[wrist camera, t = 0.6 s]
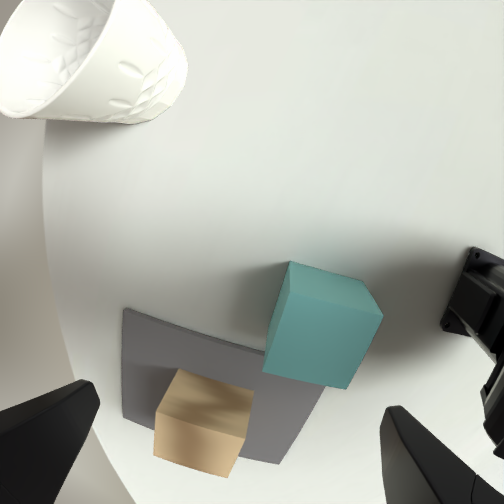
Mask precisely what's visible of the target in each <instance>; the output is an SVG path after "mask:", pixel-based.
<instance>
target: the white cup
mask: <svg viewBox="0 0 504 504" xmlns="http://www.w3.org/2000/svg"><path fill="white" fill-rule="evenodd" d="M187 70H188V63H187V59H186V56H185V53H184V50H183V47H182V46H181V45H180V43H179V42H178V41H177V40H176V39H175V37H174V36H173V34H172V32H171V31H170V29H169V27H168V26H167V24H166V23H165V22H164V21H163V20H162V18H161V17H160V15H159V14H158V12H157V11H156V10H155V9H154V7H153V6H152V5H151V4H150V3H149V1H148V0H22V2H21V3H20V4H19V5H18V7H17V8H16V10H15V11H14V13H13V14H12V16H11V17H10V19H9V20H8V22H7V24H6V26H5V28H4V30H3V32H2V34H1V36H0V112H1V113H2V114H4V115H5V116H7V117H10V118H15V119H16V118H17V119H55V120H71V121H84V122H88V121H91V122H103V123H105V122H118V123H125V124H136V123H140V122H145V121H149V120H153V119H154V118H156V117H157V116H158V115H160V114H161V113H162V112H164V111H165V110H167V109H168V108H170V107H171V106H172V104H173V103H174V101H175V100H176V98H177V97H178V95H179V94H180V92H181V91H182V89H183V88H184V85H185V80H186V75H187Z"/></svg>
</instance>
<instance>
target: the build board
mask: <svg viewBox="0 0 504 504" xmlns="http://www.w3.org/2000/svg"><path fill="white" fill-rule="evenodd" d="M264 355H265V352H262V351H259V350H255V349H251V348H248V347H244V346H240V345H237V344H233V343H230V342H227V341H223V340H220V339H217V338H213V337H210V336H207V335H204V334H200V333H197V332H194V331H191V330H188V329H185V328H182V327H179V326H176V325H173V324H170V323H167V322H164V321H162V320H159V319H156V318H153V317H150V316H148V315H145V314H142V313H139V312H137V311H134V310H131V309H129V308H125V309H124V310H123V329H122V406H123V417H124V418H126V419H128V420H130V421H133V422H135V423H138V424H140V425H142V426H145V427H147V428H150V429H152V430H155V417H156V410H157V408H158V406H159V405H160V403H161V401H162V399H163V397H164V395H165V393H166V391H167V390H168V388H169V386H170V384H171V382H172V380H173V378H174V377H175V375H176V373H177V371H178V369H182V370H185V371H188V372H191V373H194V374H197V375H201V376H204V377H207V378H210V379H213V380H217V381H220V382H224V383H227V384H231V385H234V386H238V387H241V388H245V389H249V390H253V391H254V395H253V400H252V406H251V412H250V417H249V423H248V428H247V433H246V439H245V441H244V443H243V446H242V448H241V450H240V452H239V454H238V456H239V457H244V458H248V459H253V460H258V461H263V462H268V463H273V464H280V462H281V461H282V459H283V458H284V456H285V454H286V453H287V451H288V450H289V448H290V447H291V445H292V443H293V442H294V440H295V439H296V437H297V435H298V434H299V432H300V430H301V429H302V427H303V425H304V424H305V422H306V420H307V419H308V417H309V415H310V413H311V412H312V410H313V408H314V406H315V405H316V403H317V401H318V399H319V397H320V396H321V394H322V392H323V390H324V388H325V386H324V385H319V384H314V383H309V382H304V381H300V380H295V379H291V378H286V377H282V376H278V375H274V374H270V373H266V372H262V369H263V362H264Z"/></svg>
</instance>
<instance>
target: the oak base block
mask: <svg viewBox="0 0 504 504" xmlns="http://www.w3.org/2000/svg"><path fill="white" fill-rule="evenodd" d="M253 395H254V391H253V390H249V389H245V388H241V387H238V386H234V385H231V384H227V383H224V382H220V381H217V380H213V379H210V378H207V377H204V376H201V375H197V374H194V373H191V372H188V371H185V370H182V369H178V371H177V373H176V375H175V377H174V378H173V380H172V382H171V384H170V386H169V388H168V390H167V391H166V393H165V395H164V397H163V399H162V401H161V403H160V405H159V406H158V408H157V410H156V417H155V432H154V452H153V455H154V456H157V457H159V458H162V459H165V460H168V461H171V462H173V463H176V464H179V465H182V466H186V467H189V468H192V469H195V470H199V471H202V472H206V473H209V474H213V475H217V476H221V477H225V478H228V476H229V474H230V472H231V469H232V467H233V465H234V463H235V461H236V459H237V457H238V454H239V452H240V450H241V448H242V446H243V443H244V441H245V439H246V433H247V428H248V423H249V417H250V412H251V406H252V400H253Z"/></svg>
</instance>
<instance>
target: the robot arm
mask: <svg viewBox="0 0 504 504" xmlns="http://www.w3.org/2000/svg"><path fill="white" fill-rule="evenodd" d="M476 252H477V255H476V257H475V254H476ZM447 322H448V324H447V325H445V324H446V323H447ZM440 327H441V328H442V330H444V331H447V332H451V333H455V334H460V335H464V336H469V337H472V338H473V339H474V340H475V341H476V342H477V343H478V344H479V346H480V347H481V348H482V349H483V350H484V351H485V352H486V354H487V355H488V356H489V357H490V358H491V359H492V361H493V362H494V363H495V364H496V365H495V367H494V369H493V371H492V373H491V375H490V377H489V379H488V381H487V383H486V384H485V385H484V386H483V388H482V389H481V391H480V393H481V397H482V402H483V406H484V414H485V419H486V420H485V421H484V423H483V426H484V429H485V431H486V433H487V435H488V436H489V438H490V439H491V440H492V442H493V443H494V444H495V446H496V448H495V450H494V451H493V454H494V455H496V456H498V457H500V458H502V459H504V259H502V258H499V257H497V256H495V255H493V254H491V253H489V252H486V251H484V250H482V249H480V248H477V247H474V248H472V249H471V251H470V253H469V256H468V259H467V261H466V264H465V267H464V269H463V272H462V274H461V277H460V279H459V282H458V284H457V287H456V289H455V291H454V294H453V296H452V298H451V300H450V303H449V305H448V307H447V309H446V311H445V314H444V316H443V318H442V320H441V322H440ZM99 406H100V399H99V397H98V394H97V392H96V390H95V387H94V385H93V383H92V382H90V381H87V380H83V379H80V380H78V381H75V382H73V383H71V384H68V385H66V386H64V387H61V388H59V389H56V390H54V391H51V392H49V393H46V394H44V395H41V396H39V397H36V398H34V399H31V400H29V401H26V402H24V403H21V404H18V405H16V406H13V407H10V408H8V409H5V410H2V411H0V504H54V502H55V500H56V497H57V495H58V493H59V491H60V489H61V487H62V485H63V483H64V481H65V479H66V477H67V475H68V473H69V471H70V469H71V467H72V465H73V463H74V461H75V460H76V458H77V455H78V454H79V452H80V450H81V448H82V446H83V444H84V442H85V440H86V438H87V436H88V433H89V431H90V428H91V426H92V423H93V421H94V418H95V416H96V413H97V411H98V409H99ZM380 444H381V459H382V477H383V484H384V490H385V496H386V502H387V504H504V495H502V494H501V493H499V492H498V491H497V490H495V489H494V488H493V487H492V486H491V485H489V484H488V483H487V482H486V481H485V480H483V479H482V478H481V477H480V476H479V475H478V474H477V475H476V473H475V472H474V471H473V470H472V469H471V468H470V467H469V466H468V465H466V464H465V463H464V462H463V461H462V460H461V459H460V458H459V457H457V456H456V455H455V454H454V453H453V452H452V451H451V450H450V449H449V448H447V447H446V446H445V445H444V444H443V443H442V442H441V441H440V440H439V439H437V438H436V437H435V436H434V435H433V434H432V433H431V432H430V431H429V430H428V429H426V428H425V427H424V426H423V425H422V424H421V423H420V422H419V421H418V420H417V419H415V418H414V417H413V416H412V415H411V414H410V413H409V412H408V411H407V410H406V409H404V408H403V407H402V406H400V405H398V406H389V407H387V408H386V410H385V413H384V416H383V419H382V422H381V425H380Z"/></svg>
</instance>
